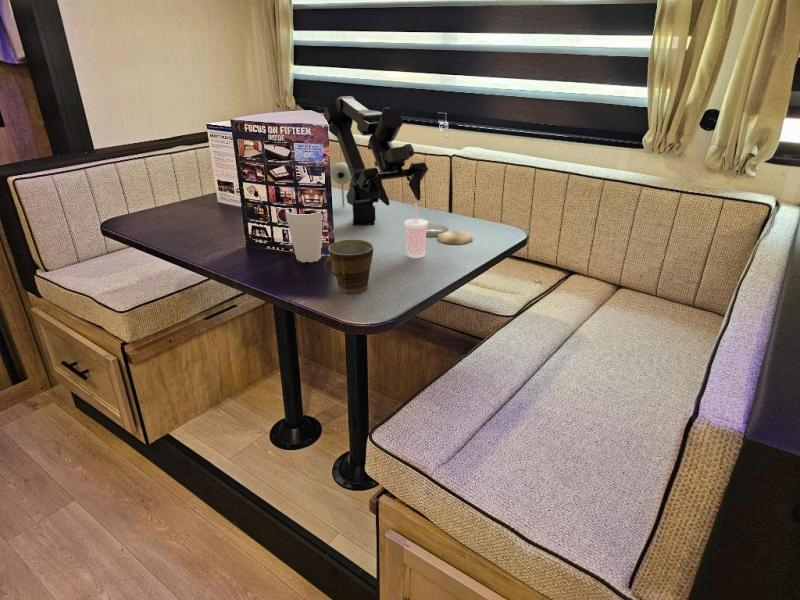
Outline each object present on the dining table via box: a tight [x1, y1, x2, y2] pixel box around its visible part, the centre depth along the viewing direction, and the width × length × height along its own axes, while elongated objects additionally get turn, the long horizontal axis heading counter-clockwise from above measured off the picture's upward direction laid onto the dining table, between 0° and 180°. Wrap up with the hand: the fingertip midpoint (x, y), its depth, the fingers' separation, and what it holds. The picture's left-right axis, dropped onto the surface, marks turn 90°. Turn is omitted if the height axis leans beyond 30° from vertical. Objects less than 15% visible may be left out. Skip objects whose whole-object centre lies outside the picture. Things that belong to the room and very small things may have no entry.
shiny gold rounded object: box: [436, 230, 473, 245], centre depth 154 cm, size 10×10×1 cm
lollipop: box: [330, 161, 351, 207], centre depth 182 cm, size 7×7×15 cm
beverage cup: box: [403, 202, 429, 259], centre depth 140 cm, size 6×6×14 cm
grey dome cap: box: [426, 223, 449, 238], centre depth 160 cm, size 10×10×1 cm
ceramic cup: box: [323, 239, 375, 295], centre depth 121 cm, size 13×10×10 cm
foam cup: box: [284, 209, 324, 263], centre depth 139 cm, size 10×9×13 cm
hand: (404, 202), depth 142 cm, fingers open, 9 cm apart
